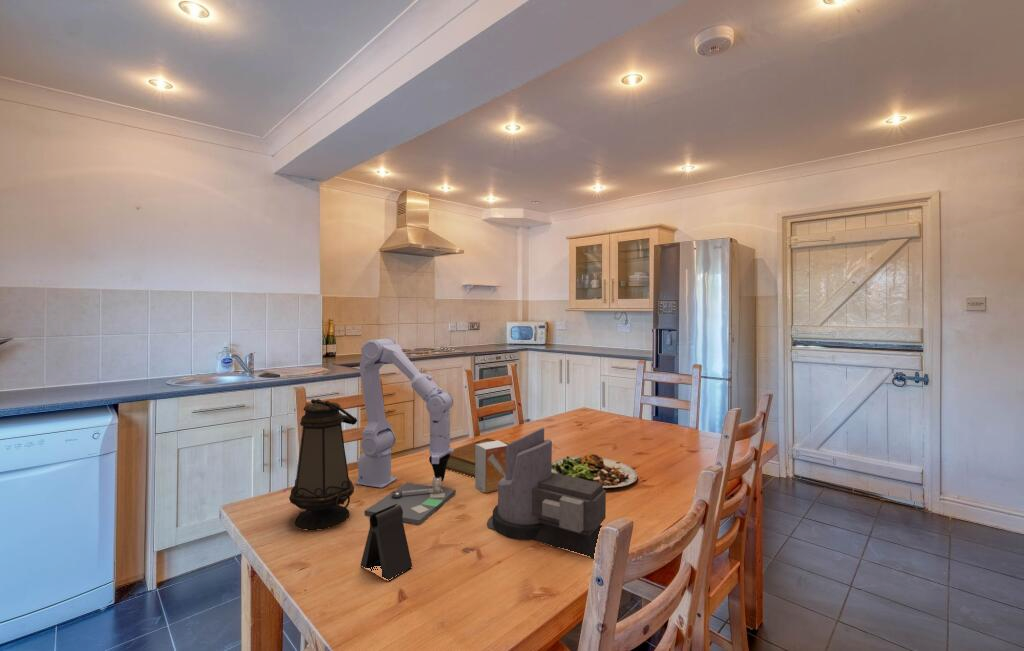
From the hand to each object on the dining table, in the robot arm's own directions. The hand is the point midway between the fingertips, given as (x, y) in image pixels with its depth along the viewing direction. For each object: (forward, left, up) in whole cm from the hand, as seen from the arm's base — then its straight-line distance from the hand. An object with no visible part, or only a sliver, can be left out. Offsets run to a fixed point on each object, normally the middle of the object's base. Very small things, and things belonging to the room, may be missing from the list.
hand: (439, 480), depth 129 cm
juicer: (+35, -12, -4) cm, 37 cm away
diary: (+3, +26, -4) cm, 26 cm away
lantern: (-20, -25, -3) cm, 32 cm away
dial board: (-3, -10, -3) cm, 11 cm away
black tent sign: (+8, -38, -3) cm, 39 cm away
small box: (+13, +8, -3) cm, 16 cm away
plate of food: (+40, +28, -4) cm, 49 cm away
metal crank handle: (-3, -7, -2) cm, 8 cm away
